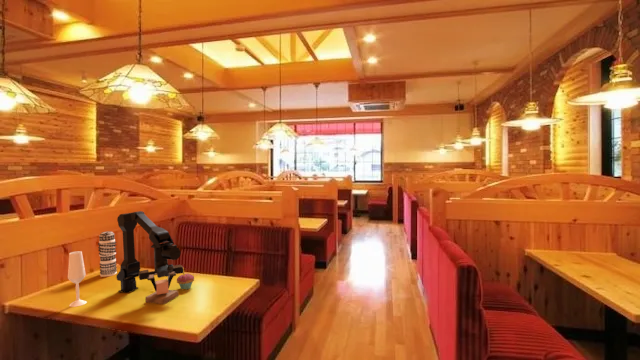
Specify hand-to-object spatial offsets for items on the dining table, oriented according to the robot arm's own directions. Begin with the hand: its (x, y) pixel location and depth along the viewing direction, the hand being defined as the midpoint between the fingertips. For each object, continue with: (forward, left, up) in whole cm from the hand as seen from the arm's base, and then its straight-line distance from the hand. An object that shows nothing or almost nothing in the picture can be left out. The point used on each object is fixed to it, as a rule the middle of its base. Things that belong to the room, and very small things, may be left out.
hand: (162, 289), depth 160 cm
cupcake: (+2, +15, -5) cm, 16 cm away
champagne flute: (-35, -13, -5) cm, 38 cm away
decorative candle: (-57, +25, -5) cm, 62 cm away
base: (0, 0, -4) cm, 4 cm away
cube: (0, 0, -1) cm, 1 cm away
